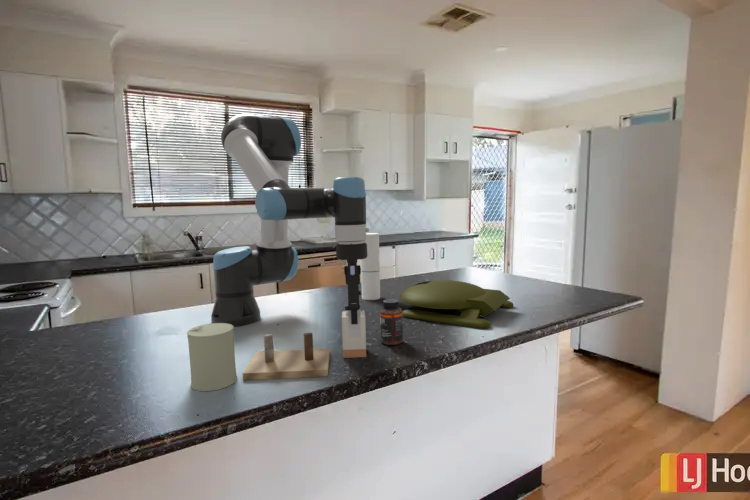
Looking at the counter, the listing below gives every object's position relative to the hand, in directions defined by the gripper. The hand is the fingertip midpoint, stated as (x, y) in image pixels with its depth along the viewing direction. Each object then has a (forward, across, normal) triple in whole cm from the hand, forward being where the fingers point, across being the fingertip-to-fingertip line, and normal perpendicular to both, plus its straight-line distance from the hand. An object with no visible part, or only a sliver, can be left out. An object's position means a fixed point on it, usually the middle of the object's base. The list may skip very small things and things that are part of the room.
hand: (354, 328), depth 102 cm
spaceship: (+7, +36, -33) cm, 50 cm away
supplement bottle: (+7, +7, -10) cm, 14 cm away
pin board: (+6, -6, +15) cm, 18 cm away
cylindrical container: (+6, +58, -7) cm, 59 cm away
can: (+7, -13, +30) cm, 33 cm away
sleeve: (+6, 0, 0) cm, 6 cm away
